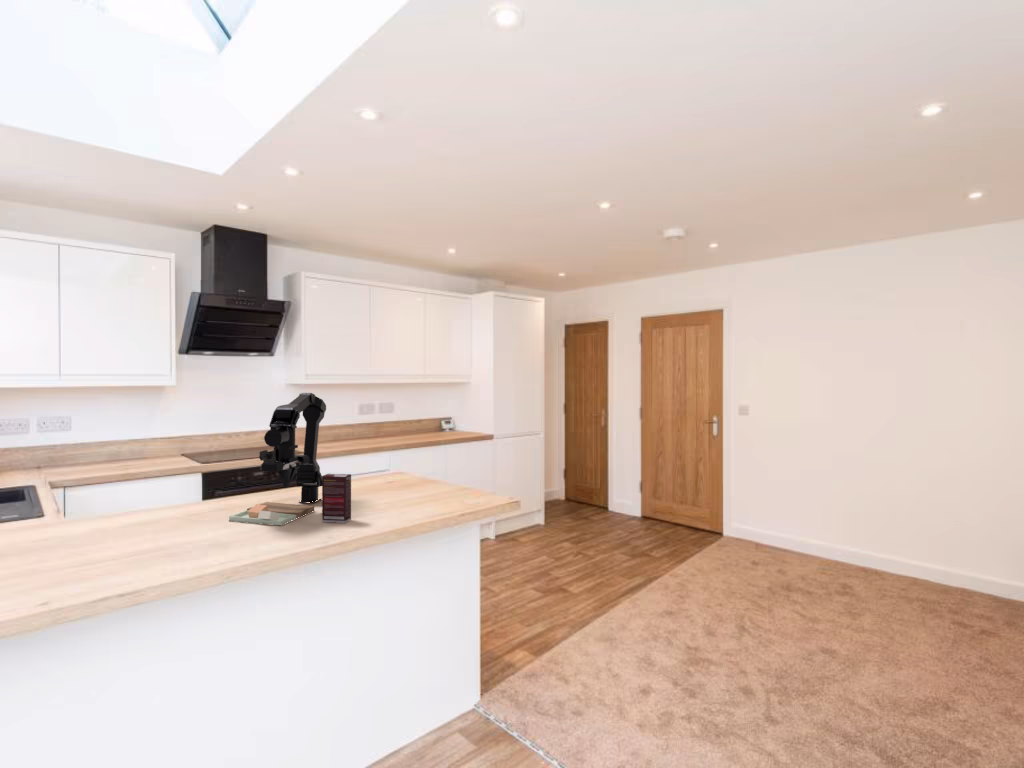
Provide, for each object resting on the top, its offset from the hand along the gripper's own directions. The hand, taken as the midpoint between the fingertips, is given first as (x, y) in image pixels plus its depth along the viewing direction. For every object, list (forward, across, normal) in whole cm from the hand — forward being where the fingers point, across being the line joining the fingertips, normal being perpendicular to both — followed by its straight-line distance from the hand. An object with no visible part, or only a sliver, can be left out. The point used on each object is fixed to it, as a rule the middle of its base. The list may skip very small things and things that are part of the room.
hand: (286, 487), depth 179 cm
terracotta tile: (+9, +3, -8) cm, 13 cm away
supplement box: (+11, -1, +19) cm, 22 cm away
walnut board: (+10, -4, -5) cm, 12 cm away
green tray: (+10, +5, -5) cm, 13 cm away
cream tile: (+7, +7, -1) cm, 10 cm away
